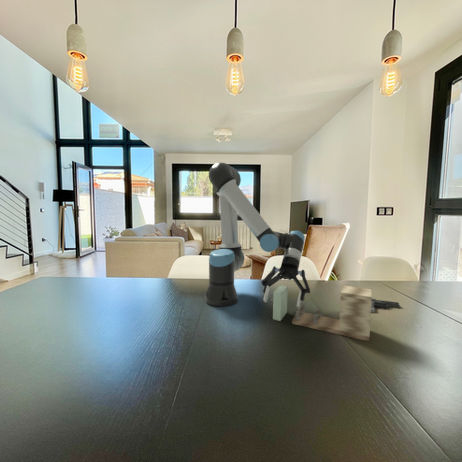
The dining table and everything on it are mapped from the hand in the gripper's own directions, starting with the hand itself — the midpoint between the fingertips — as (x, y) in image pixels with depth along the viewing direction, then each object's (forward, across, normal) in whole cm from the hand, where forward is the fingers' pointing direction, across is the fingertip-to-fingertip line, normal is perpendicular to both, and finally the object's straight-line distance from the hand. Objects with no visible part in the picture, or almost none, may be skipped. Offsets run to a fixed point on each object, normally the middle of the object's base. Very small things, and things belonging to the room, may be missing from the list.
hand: (280, 304), depth 95 cm
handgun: (-17, -36, -25) cm, 47 cm away
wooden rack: (+3, -18, -4) cm, 19 cm away
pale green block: (+3, 0, -4) cm, 5 cm away
